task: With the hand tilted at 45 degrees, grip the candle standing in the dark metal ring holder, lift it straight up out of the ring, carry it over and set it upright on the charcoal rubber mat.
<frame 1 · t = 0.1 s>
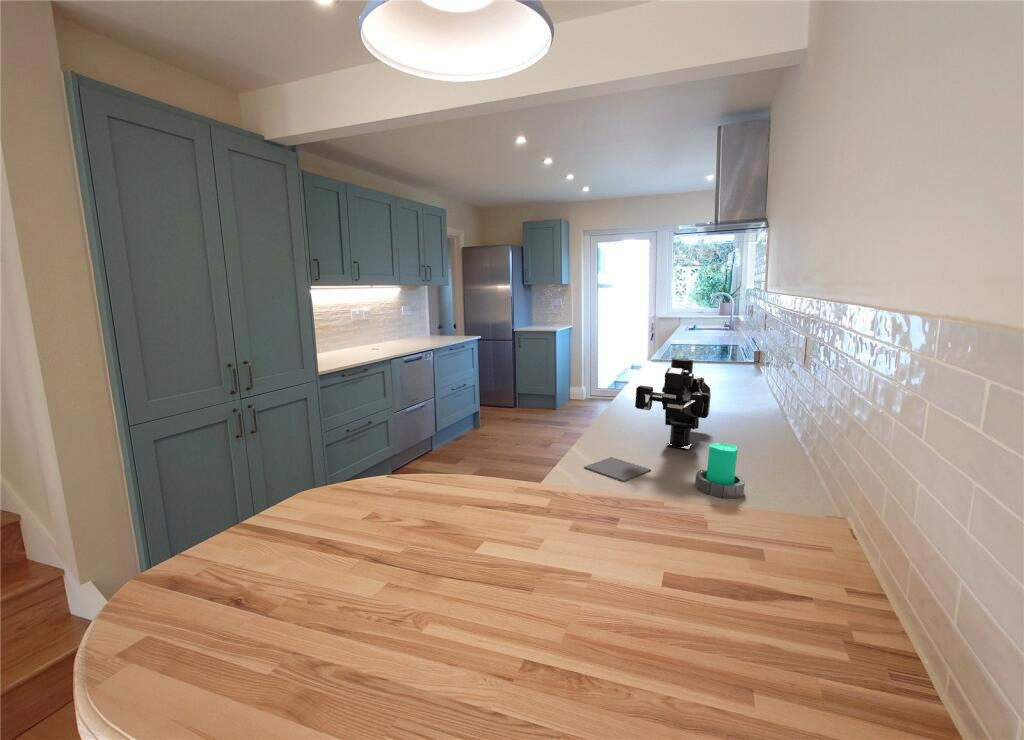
hand: (664, 407, 121), 17 cm above the kitchen counter, tool horizontal, fingers open, 9 cm apart
mat: (617, 469, 123), on the kitchen counter
ring holder: (718, 489, 112), on the kitchen counter
candle: (718, 490, 112), resting in ring holder
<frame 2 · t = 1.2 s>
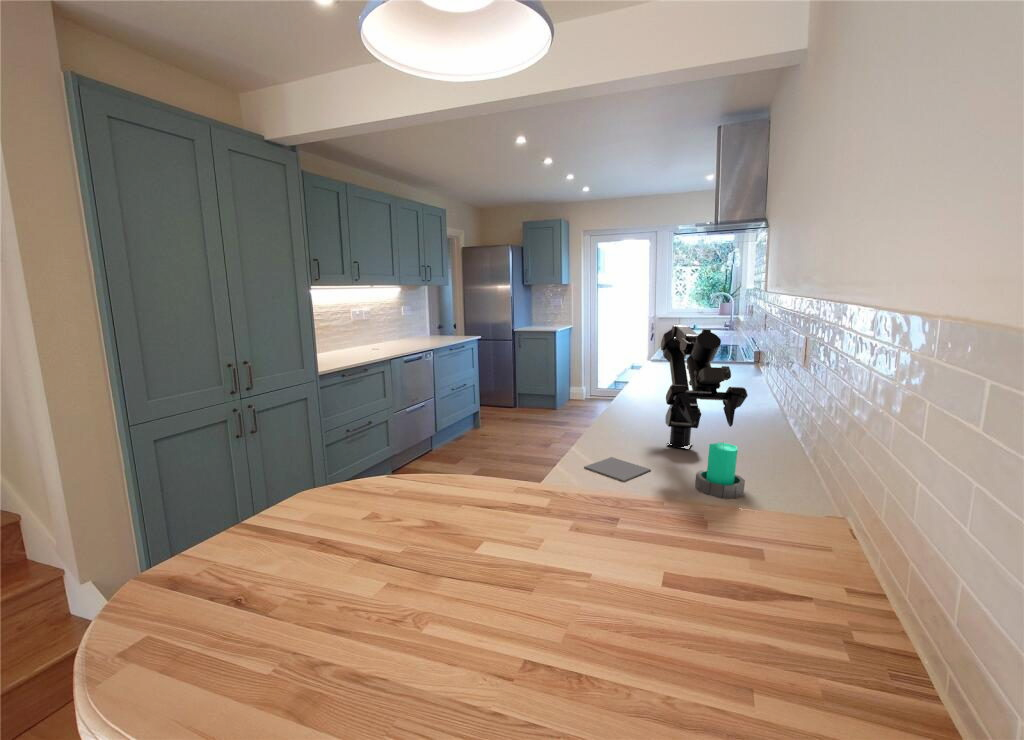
hand: (712, 424, 117), 13 cm above the kitchen counter, tool tilted 45°, fingers open, 9 cm apart
nothing on the kitchen counter moved.
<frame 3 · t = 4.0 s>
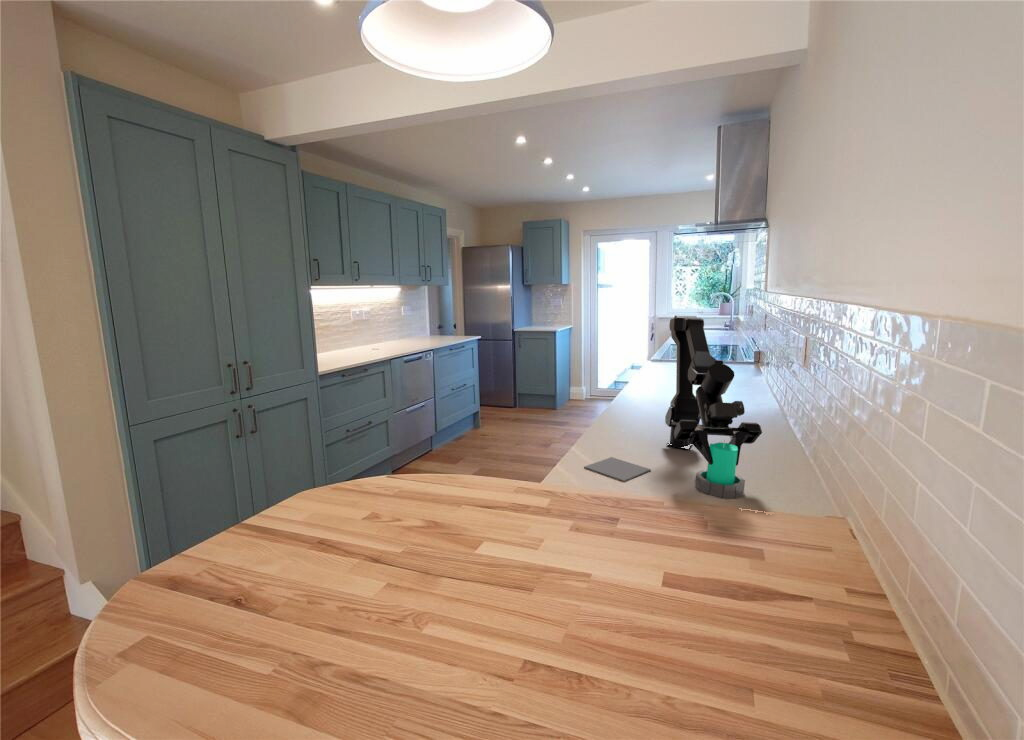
hand: (724, 464, 109), 7 cm above the kitchen counter, tool tilted 45°, fingers closed on candle, 5 cm apart
candle: (718, 490, 112), resting in ring holder, touching gripper
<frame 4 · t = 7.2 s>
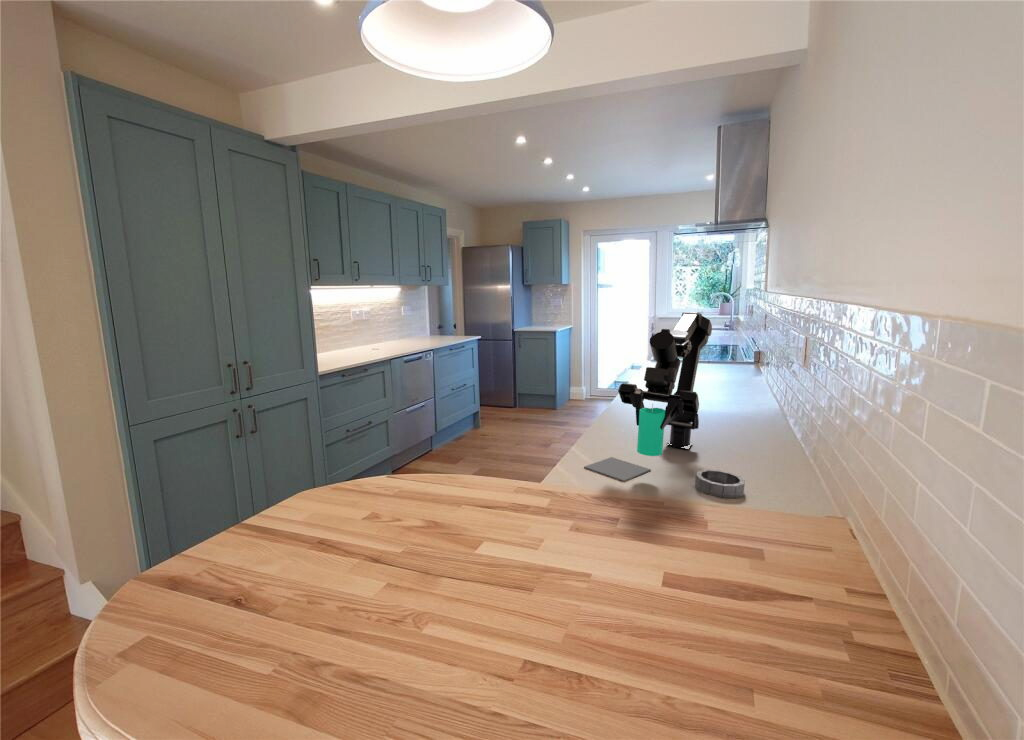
hand: (649, 426, 115), 13 cm above the kitchen counter, tool tilted 45°, fingers closed on candle, 5 cm apart
candle: (649, 452, 117), point 6 cm above the kitchen counter, touching gripper
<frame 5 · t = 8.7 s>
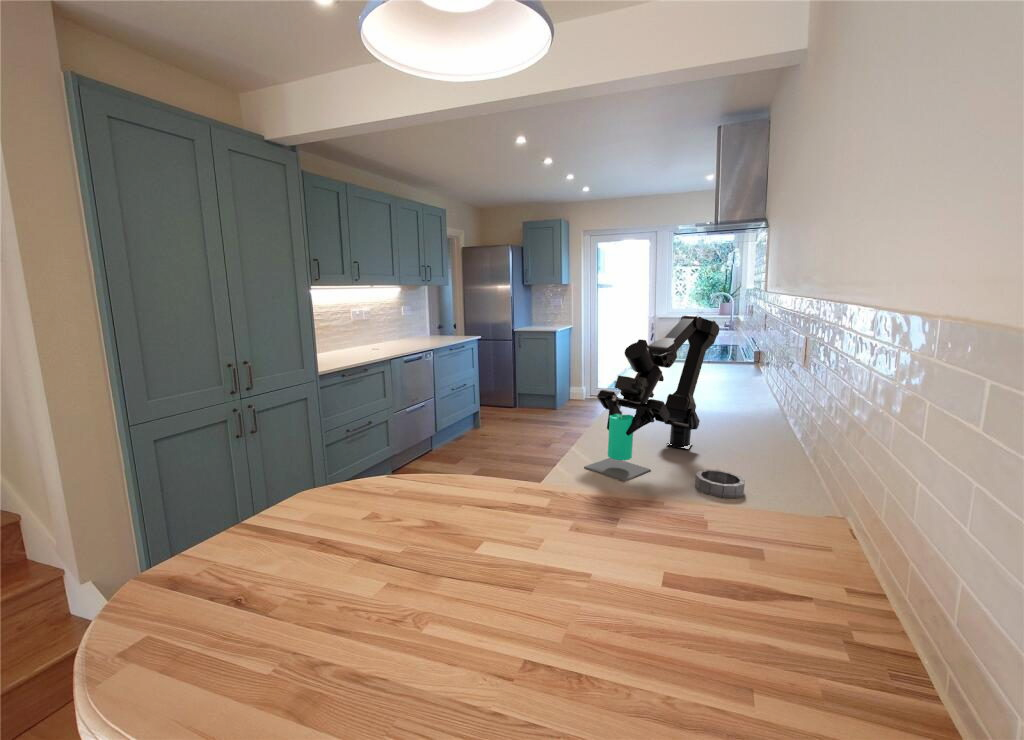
hand: (617, 432, 121), 10 cm above the kitchen counter, tool tilted 45°, fingers closed on candle, 5 cm apart
candle: (619, 457, 122), point 3 cm above the kitchen counter, touching gripper
when the fingers open (8 cm above the kitchen counter, at t = 10.0 s): candle stays where it is, resting on mat.
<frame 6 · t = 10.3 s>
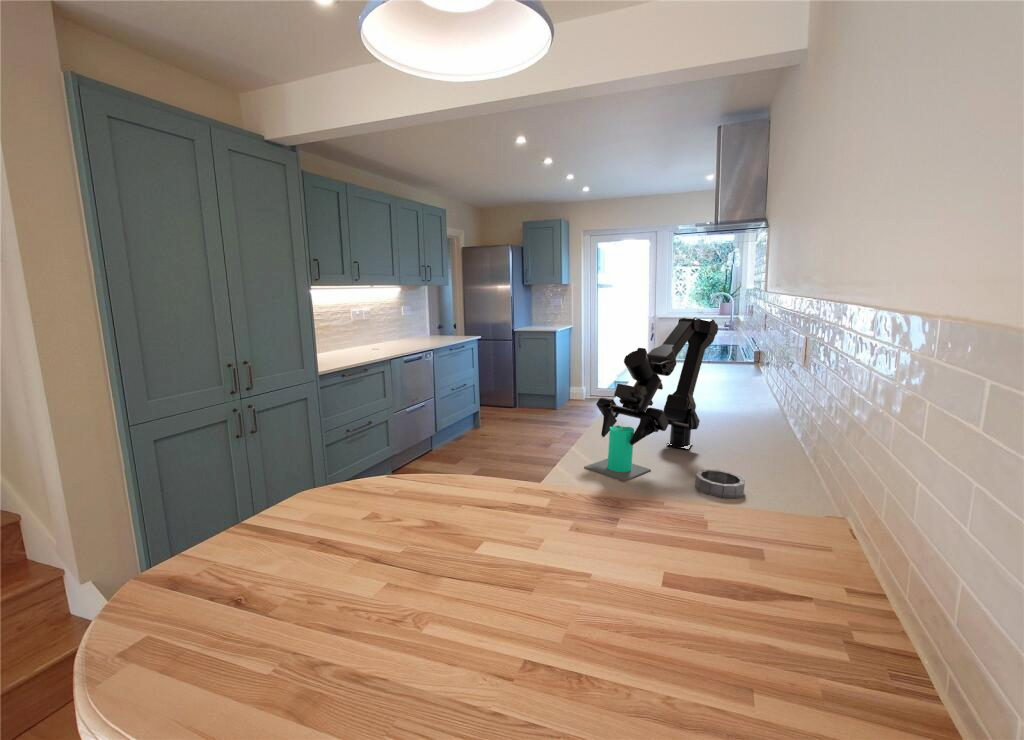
hand: (616, 440, 121), 8 cm above the kitchen counter, tool tilted 45°, fingers open, 8 cm apart
candle: (619, 468, 123), resting on mat
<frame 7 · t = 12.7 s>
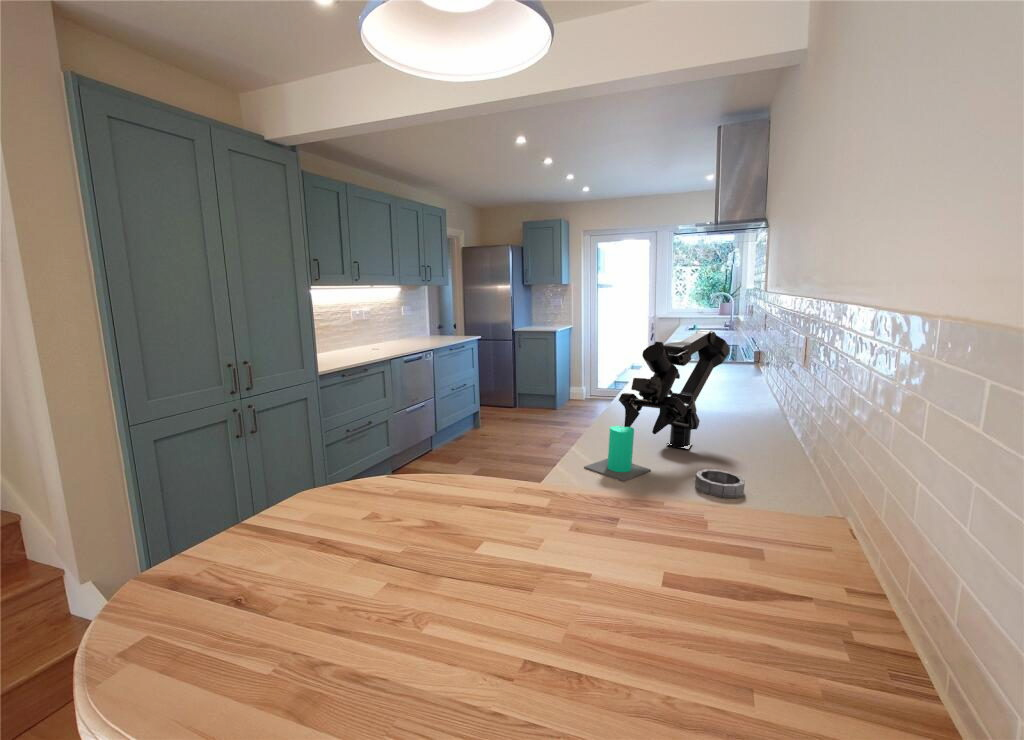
hand: (639, 431, 127), 9 cm above the kitchen counter, tool tilted 40°, fingers open, 9 cm apart
nothing on the kitchen counter moved.
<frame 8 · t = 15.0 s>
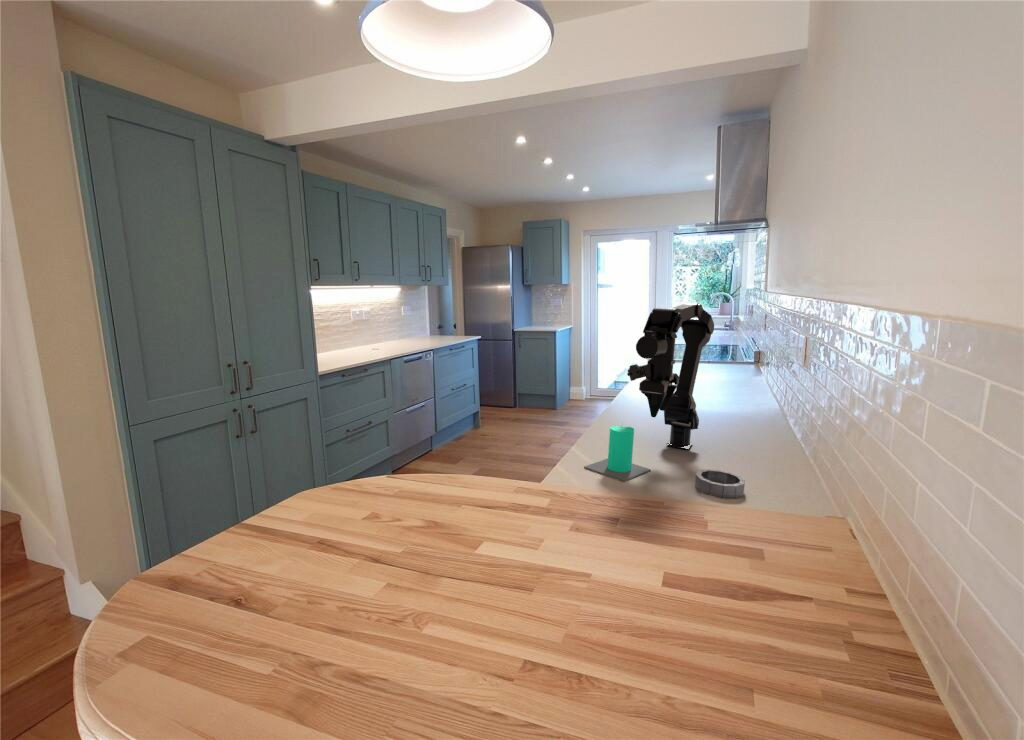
hand: (657, 413, 129), 13 cm above the kitchen counter, tool pointing down, fingers open, 9 cm apart
nothing on the kitchen counter moved.
at the end: candle inside the target area on the mat (0.4 cm from its centre), point 0.2 cm above the mat's base; candle tilted 0°; the gripper is holding nothing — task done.
